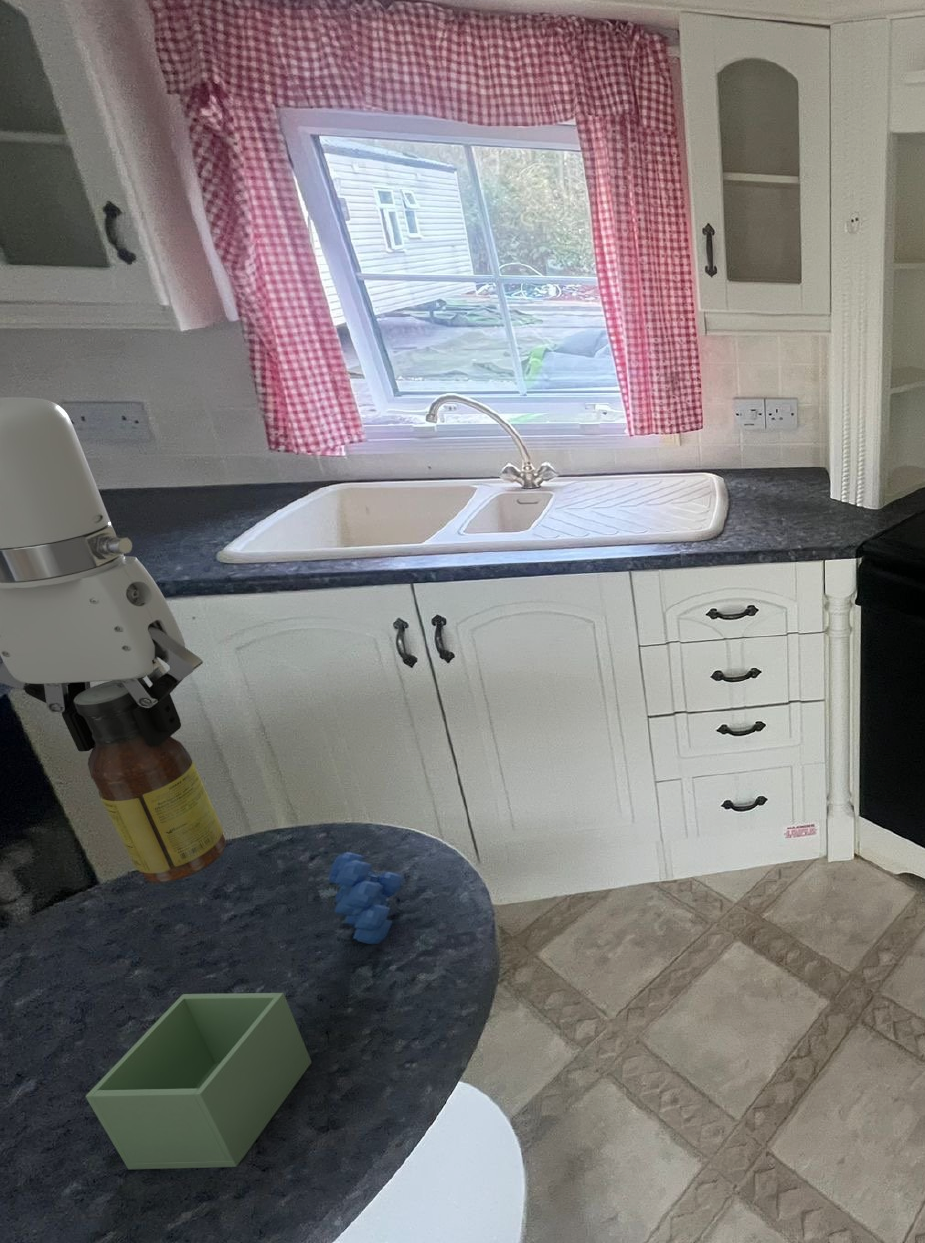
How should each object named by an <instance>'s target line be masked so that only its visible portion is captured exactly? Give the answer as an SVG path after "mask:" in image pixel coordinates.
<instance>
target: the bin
mask: <svg viewBox="0 0 925 1243" xmlns="http://www.w3.org/2000/svg"><path fill="white" fill-rule="evenodd" d="M302 1037H303V1036H302V1035H301V1033H300V1030H299V1028H298V1025H297V1023H296V1020H295V1018H294V1015H293V1013H292V1010H291V1008H290V1005H289V1003H288V1001H287V998H286V995H285V994H284V992H251V993H250V992H247V993H243V992H242V993H241V992H240V993H237V992H235V993H183V994H181V995H180V997H178V998H177V1000H175V1001H174V1002H173V1004H172V1005H171V1006H170V1007H169V1008H168V1009H167V1010H166V1011H165V1012H164V1013H163V1014H162V1015H161V1016H160V1017H159V1018H158V1020H156V1022H155V1023H154V1024H152V1026H151V1027H150V1028H148V1030H147V1031H146V1032H145V1033H144V1034H143V1035H142V1036H141V1037H140V1038H139V1039H138V1040H137V1041H136V1042H135V1044H134V1045H133V1046H132V1047H131V1048H130V1049H129V1050H128V1051H127V1052H126V1053H125V1054H124V1055H123V1056H122V1057H121V1058H120V1059H119V1060H118V1061H117V1062H116V1063H115V1064H114V1066H113V1067H112V1068H111V1069H109V1071H107V1073H106V1074H105V1075H104V1076H103V1077H102V1078H101V1079H100V1080H99V1081H98V1082H97V1083H96V1084H95V1085H94V1086H93V1087H92V1089H91V1090H89V1092H88V1093H86V1095H85V1096H84V1097H85V1099H86V1100H87V1102H88V1104H89V1106H90V1108H91V1109H92V1111H93V1112H94V1114H95V1116H96V1118H97V1119H98V1120H99V1122H100V1124H101V1126H102V1127H103V1130H104V1131H105V1132H106V1134H107V1136H108V1138H109V1139H110V1140H111V1142H112V1144H113V1146H114V1148H115V1149H116V1151H117V1153H118V1154H119V1156H120V1158H121V1160H122V1162H123V1163H124V1164H125V1167H126V1168H127V1170H163V1169H164V1170H166V1169H168V1170H169V1169H200V1168H201V1169H206V1168H207V1169H209V1168H237V1167H238V1166H239V1164H240V1163H241V1162H242V1160H243V1159H244V1158H245V1156H246V1154H247V1153H248V1152H249V1150H250V1149H251V1148H252V1146H253V1145H254V1144H255V1142H256V1141H257V1139H258V1138H259V1137H260V1136H261V1134H262V1133H263V1131H264V1130H265V1129H266V1127H267V1125H269V1122H270V1121H271V1120H272V1118H273V1117H274V1115H275V1114H276V1113H277V1112H278V1110H279V1108H280V1107H281V1106H282V1104H283V1103H284V1102H285V1100H286V1099H287V1098H288V1097H289V1095H290V1093H291V1092H292V1091H293V1089H294V1088H295V1086H296V1085H297V1084H298V1082H299V1080H301V1078H302V1076H303V1075H304V1074H305V1072H306V1071H307V1070H308V1069H309V1067H310V1066H311V1064H312V1059H311V1057H310V1054H309V1052H308V1049H307V1047H306V1045H305V1042H304V1040H303V1038H302Z"/></svg>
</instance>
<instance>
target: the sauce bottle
mask: <svg viewBox="0 0 925 1243" xmlns="http://www.w3.org/2000/svg"><path fill="white" fill-rule="evenodd" d="M74 704H75V707H76V709H77V711H78V713H79V714H80V715H82V716H83V717H84V718H85V720H86V722H87V724H88V726H89V728H90V730H91V732H92V738H93V739H94V741H95V745H94V748H93V749H91V750H90V754H89V756H88V758H87V766H88V771H89V775H90V779H92V780H93V783H94V784H95V786H96V788H97V790H98V796H99V798H100V800H101V802H102V804H103V806H104V808H105V810H106V813H107V814H108V816H109V817H110V820H111V821H112V823H113V826H114V827H115V829H116V831H117V833H118V835H119V837H120V839H121V841H122V843H123V845H124V846H123V847H124V848H125V849H126V852H127V854H128V856H129V858H130V860H131V862H132V864H133V866H134V868H135V869H136V870H137V871H138V872H140V873H141V875H142V876H143V878H144V879H146V880H147V881H148V882H151V883H153V884H156V883H167V882H173V881H177V880H181V879H182V880H183V879H185V878H187V877H190V876H192V875H195V874H197V873H199V872H200V871H202V870H204V869H206V868H208V867H209V866H210V865H212V864H213V863H215V861H217V859H219V858H220V857H221V856H222V854H223V853H224V852H225V848H226V845H227V841H226V838H225V835H224V829H223V827H222V825H221V821H220V820H219V817H218V815H217V813H216V810H215V808H214V805H213V804H212V801H211V799H210V796H209V795H208V792H207V790H206V787H205V785H204V784H203V781H202V779H201V776H200V774H199V771H198V770H197V767H196V765H195V763H194V760H193V759H192V756H191V755H190V753H189V752H188V750H187V749H186V747H185V746H184V745H183V743H182V742H181V741H179V740H177V739H176V738H174V737H172V735H171V736H170V737H169V738H168V739H166V740H165V741H164V742H163V743H162V744H160V745H159V746H153V747H150V746H148V745H147V744H146V742H145V740H144V738H143V735H142V733H141V731H140V728H139V726H138V723H137V721H136V719H135V716H134V714H133V711H134V710H135V709H136V708H137V707H139V705H138V704H137V702H136V701H135V700H134V698H133V697H132V696H131V694H130V693H129V692H128V690H127V689H126V688H125V686H124V685H123V684H122V682H121V681H120V680H111V681H103V682H101V683H99V684H96V685H94V686H91V688H89V689H87V690H85V691H83V692H81V693H79V694H78V695H77V696H76V697H75V699H74Z"/></svg>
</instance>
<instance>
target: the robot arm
mask: <svg viewBox="0 0 925 1243" xmlns="http://www.w3.org/2000/svg"><path fill="white" fill-rule="evenodd" d="M132 550H133V541H132V540H131V539H130V538H128V537H119V536H117V534H116V531H115V528H114V527H113V523H112V521H111V519H110V516H109V514H108V511H107V509H106V507H105V504H104V501H103V499H102V496H101V494H100V491H99V488H98V485H97V483H96V480H95V478H94V475H93V473H92V471H91V468H90V465H89V463H88V460H87V458H86V455H85V453H84V450H83V447H82V445H81V442H80V440H79V437H78V435H77V432H76V430H75V427H74V424H73V423H72V421H71V418H70V416H69V414H68V413H67V412H66V410H64V408H63V407H61V405H59V404H57V403H56V402H53V401H51V400H48V399H45V398H39V397H28V396H5V397H4V396H3V397H2V396H1V397H0V658H1V660H2V662H1V665H0V684H3V685H6V686H8V687H12V688H14V689H17V690H20V691H24V692H25V694H27V695H28V696H31V697H32V698H35V699H36V700H38V701H41V702H43V703H45V704H46V708H47V710H48V711H49V712H50V713H53V714H57V715H59V714H61V717H62V719H63V721H64V723H65V725H66V728H67V729H68V732H69V734H70V736H71V738H72V740H73V742H74V745H75V747H76V749H77V751H78V752H89V751H92V749H93V748H94V745H95V741H94V739H93V738H92V732H91V730H90V728H89V726H88V724H87V722H86V720H85V718H84V717H83V716H82V715H80V714H79V713H78V711H77V709H76V707H75V704H74V699H75V697H76V696H77V695H78V694H79V693H81V692H83V691H85V690H87V689H89V688H91V687H92V684H91V683H92V682H94V683H95V682H108V681H113V680H120V681H121V682H122V684H123V685H124V686H125V688H126V689H127V690H128V692H129V693H130V694H131V696H132V697H133V698H134V700H135V701H136V702H137V704H138V705H139V707H137V708H136V709H135V710H134V711H133V714H134V716H135V719H136V721H137V723H138V726H139V728H140V731H141V733H142V735H143V738H144V740H145V742H146V744H147V745H148V746H150V747H153V746H159V745H160V744H162V743H163V742H164V741H165V740H166V739H168V738H169V737H170V736H171V737H172V736H173V735H174V734H176V733H177V732H178V731H179V730H180V729H181V727H182V722H181V718H180V716H179V715H180V714H179V713H178V710H177V708H176V706H175V704H174V700H173V698H172V696H171V693H173V692H174V691H175V690H176V689H177V687H178V685H179V684H180V683H182V681H183V680H184V679H186V677H188V676H190V675H191V674H192V673H193V672H195V671H196V670H197V669H199V668H200V667H201V666H203V664H204V661H203V659H202V658H201V657H199V656H198V655H196V654H195V653H194V652H192V651H191V650H190V649H188V648H187V647H186V642H185V639H184V637H183V633H182V631H181V628H180V626H179V624H178V622H177V619H176V618H175V616H174V613H173V612H172V610H171V607H170V605H169V604H168V602H167V600H166V598H165V596H164V594H163V593H162V591H161V589H160V587H159V585H158V584H157V582H155V580H154V578H153V577H152V576H151V574H150V573H149V572H148V570H147V569H146V568H145V566H144V565H143V563H142V562H141V561H140V560H139V559H138V558H137V557H136V556H129V555H128V556H126V555H124V554H130V553H131V551H132ZM159 659H160V660H161V661H162V662H163V663H165V664H167V665H168V666H169V669H168V671H167V669H166V668H165V667H164V665H163V664H162V663H161V661H160V660H159ZM146 677H147V678H148V680H149V682H151V685H150V686H149V684H148V682H146V680H145V679H144V678H146Z"/></svg>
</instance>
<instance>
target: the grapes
mask: <svg viewBox="0 0 925 1243" xmlns="http://www.w3.org/2000/svg"><path fill="white" fill-rule="evenodd" d="M364 859H365V856H364V855H361V854H359V853H354V852H351V851H347V852H343V853H340V854H339V855H337V857H336V858H335V859H334V861H333V862H332V864H331V866H330V869H329V871H328V875H329V879H328V882H329V883H332V884H336V885H340V887H339V889H338V890H337V892H336V895H335V897H334V901H336V902H337V903H336V906H335V908H334V910H333V913H335V914H338V915H341V916H345V919H344V921H343V923H344V924H348V925H352V926H354V927H353V928H355V929H356V930H355V932H354V934H353V937H352V940H353V939H354V940H356V941H357V942H360V943H363V944H367V945H377V944H380V943H382V942H383V941H384V939H385V938H386V937H387V935H388V933H389V932H390V929H391V927H392V924H393V920H390V919H387V917H388V915H389V913H390V911H391V906H390V907H389V906H388V904H389V901H387V898H390V897H393V896H395V894H396V893H397V892H398V891H399V889H400V887H401V885H402V882H403V880H404V878H405V875H403V874H400V873H396V872H392V871H387V872H386V871H385V872H383V873H380V874H379V875H377V874H376V872H375V871H372V870H371V867H372V863H369V862H366V861H364Z"/></svg>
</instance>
